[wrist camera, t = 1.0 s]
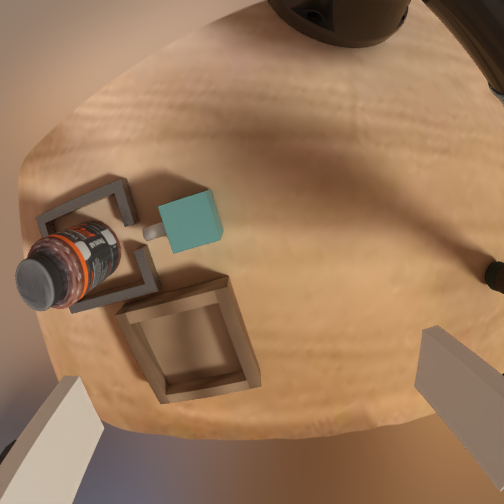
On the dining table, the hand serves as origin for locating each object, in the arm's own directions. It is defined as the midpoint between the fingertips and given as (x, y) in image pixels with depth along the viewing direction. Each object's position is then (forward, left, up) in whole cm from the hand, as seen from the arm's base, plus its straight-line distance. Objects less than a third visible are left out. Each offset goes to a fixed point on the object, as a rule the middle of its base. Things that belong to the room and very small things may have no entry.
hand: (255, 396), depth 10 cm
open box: (+8, +7, -20) cm, 22 cm away
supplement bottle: (+15, -5, -20) cm, 25 cm away
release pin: (+5, -5, -19) cm, 21 cm away
